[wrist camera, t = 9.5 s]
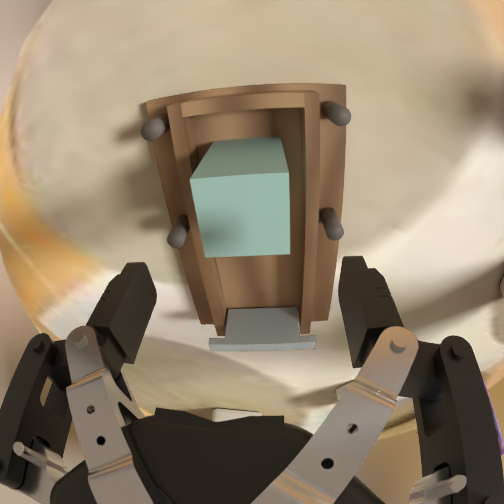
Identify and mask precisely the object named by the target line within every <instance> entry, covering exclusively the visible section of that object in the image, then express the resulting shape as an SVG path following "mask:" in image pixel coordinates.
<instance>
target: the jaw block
mask: <svg viewBox="0 0 504 504" xmlns="http://www.w3.org/2000/svg"><path fill="white" fill-rule="evenodd" d="M190 184H191V189H192V195H193V200H194V205H195V210H196V215H197V220H198V225H199V230H200V235H201V240H202V244H203V249H204V254H205V258H208V257H233V256H258V255H282V254H290V197H289V171H288V166H287V162H286V158H285V154H284V150H283V146H282V142H281V138H280V136H277V137H257V138H242V139H230V140H219V141H214V142H213V143H212V145H211V147H210V148H209V150H208V151H207V153H206V154H205V156H204V157H203V159H202V160H201V162H200V164H199V165H198V167H197V168H196V170H195V172H194V173H193V175H192V176H191V178H190Z"/></svg>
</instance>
